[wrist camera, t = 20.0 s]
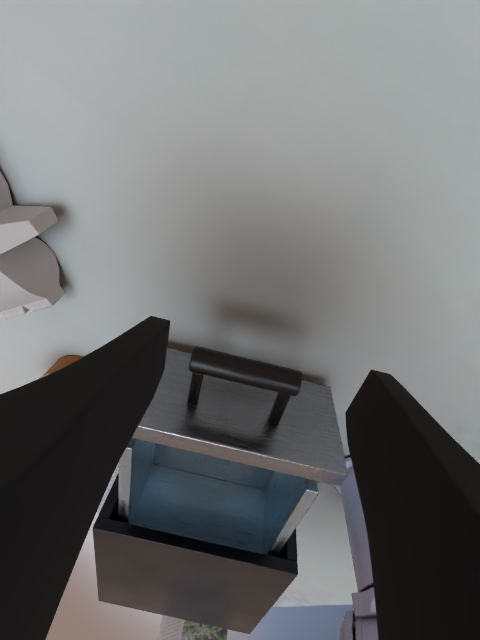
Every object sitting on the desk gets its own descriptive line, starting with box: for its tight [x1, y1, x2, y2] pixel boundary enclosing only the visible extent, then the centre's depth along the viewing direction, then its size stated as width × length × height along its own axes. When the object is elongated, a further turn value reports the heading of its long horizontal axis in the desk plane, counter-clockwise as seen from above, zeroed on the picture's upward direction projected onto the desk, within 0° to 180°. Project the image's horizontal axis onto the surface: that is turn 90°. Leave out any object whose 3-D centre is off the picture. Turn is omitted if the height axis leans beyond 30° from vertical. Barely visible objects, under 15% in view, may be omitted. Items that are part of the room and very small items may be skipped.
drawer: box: [118, 346, 348, 557], centre depth 22 cm, size 17×13×7 cm
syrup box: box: [157, 615, 228, 640], centre depth 34 cm, size 6×6×14 cm
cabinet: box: [93, 473, 298, 634], centre depth 29 cm, size 15×15×9 cm
